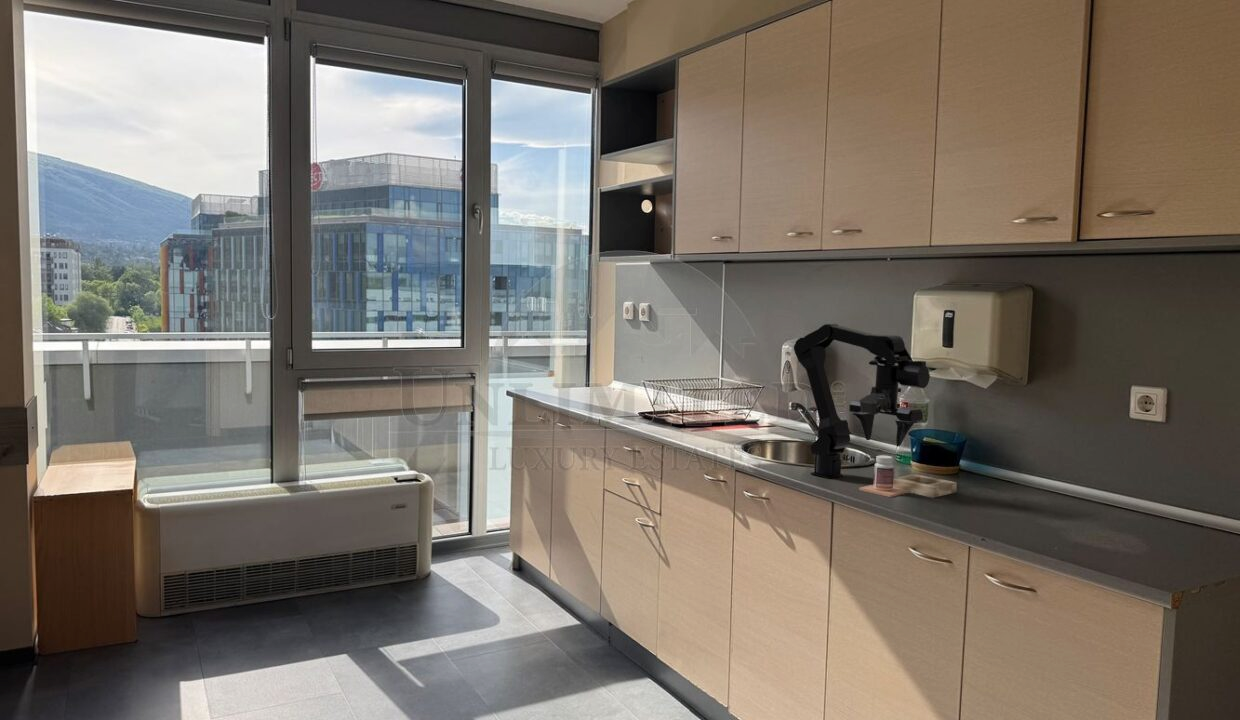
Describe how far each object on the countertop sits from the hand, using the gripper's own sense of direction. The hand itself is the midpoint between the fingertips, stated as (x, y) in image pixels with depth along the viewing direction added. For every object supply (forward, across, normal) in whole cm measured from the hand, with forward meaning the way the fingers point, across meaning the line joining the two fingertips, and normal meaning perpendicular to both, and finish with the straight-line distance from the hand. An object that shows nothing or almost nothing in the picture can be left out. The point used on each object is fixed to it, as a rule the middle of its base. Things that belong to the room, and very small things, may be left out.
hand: (882, 443), depth 220 cm
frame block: (+12, +8, +7) cm, 16 cm away
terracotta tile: (+12, +3, -3) cm, 13 cm away
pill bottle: (+11, +3, -3) cm, 12 cm away
